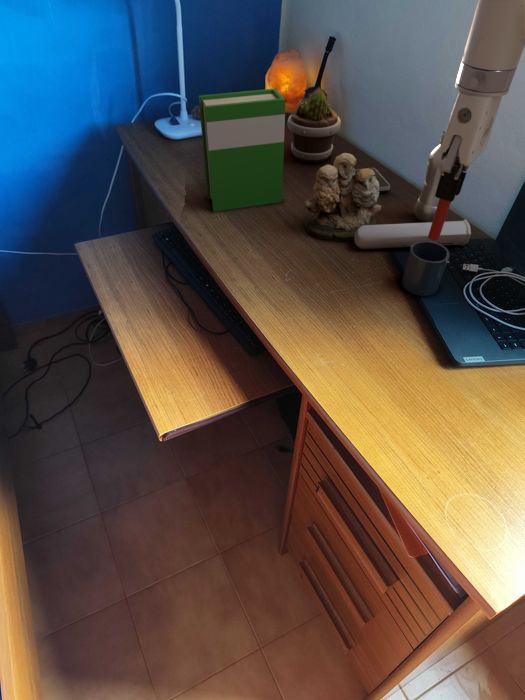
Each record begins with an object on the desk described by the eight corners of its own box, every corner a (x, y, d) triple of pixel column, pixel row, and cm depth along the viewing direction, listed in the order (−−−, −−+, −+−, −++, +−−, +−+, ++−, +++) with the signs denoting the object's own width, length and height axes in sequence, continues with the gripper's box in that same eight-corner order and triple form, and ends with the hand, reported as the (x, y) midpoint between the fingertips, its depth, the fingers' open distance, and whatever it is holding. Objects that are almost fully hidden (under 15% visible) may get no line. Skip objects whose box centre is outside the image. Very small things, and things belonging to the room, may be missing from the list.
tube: (358, 239, 99) (473, 234, 100) (354, 220, 101) (466, 215, 102) (353, 255, 104) (463, 249, 105) (350, 235, 106) (457, 231, 107)
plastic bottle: (422, 208, 116) (446, 125, 101) (445, 220, 112) (473, 135, 97) (406, 217, 113) (428, 133, 98) (429, 229, 109) (455, 143, 95)
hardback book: (213, 211, 114) (205, 107, 97) (207, 197, 119) (198, 95, 102) (281, 201, 118) (285, 99, 100) (273, 188, 123) (275, 88, 105)
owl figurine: (308, 245, 104) (315, 171, 92) (296, 218, 112) (300, 147, 100) (384, 237, 107) (400, 164, 94) (366, 211, 115) (379, 140, 102)
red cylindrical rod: (440, 237, 87) (464, 163, 77) (436, 241, 86) (460, 168, 76) (430, 233, 88) (453, 160, 78) (426, 238, 87) (448, 164, 76)
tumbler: (443, 282, 95) (455, 249, 89) (429, 300, 91) (440, 267, 85) (410, 269, 98) (419, 236, 92) (395, 286, 94) (404, 253, 88)
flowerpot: (285, 145, 141) (288, 71, 127) (335, 146, 141) (344, 72, 127) (284, 166, 131) (288, 89, 117) (339, 167, 131) (349, 90, 117)
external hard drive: (373, 174, 128) (374, 167, 127) (389, 193, 121) (391, 186, 119) (349, 177, 127) (350, 170, 126) (364, 196, 120) (365, 189, 118)
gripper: (493, 98, 61) (451, 222, 75) (526, 69, 70) (483, 184, 84) (438, 86, 64) (407, 207, 78) (477, 60, 73) (443, 173, 87)
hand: (447, 195), depth 81 cm, fingers closed on red cylindrical rod, 2 cm apart
